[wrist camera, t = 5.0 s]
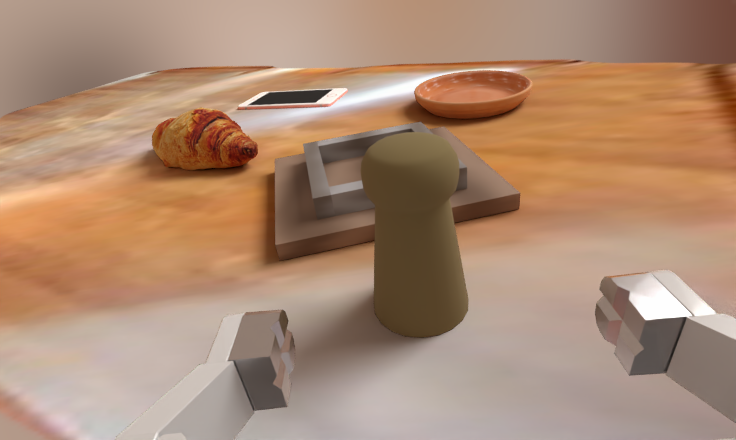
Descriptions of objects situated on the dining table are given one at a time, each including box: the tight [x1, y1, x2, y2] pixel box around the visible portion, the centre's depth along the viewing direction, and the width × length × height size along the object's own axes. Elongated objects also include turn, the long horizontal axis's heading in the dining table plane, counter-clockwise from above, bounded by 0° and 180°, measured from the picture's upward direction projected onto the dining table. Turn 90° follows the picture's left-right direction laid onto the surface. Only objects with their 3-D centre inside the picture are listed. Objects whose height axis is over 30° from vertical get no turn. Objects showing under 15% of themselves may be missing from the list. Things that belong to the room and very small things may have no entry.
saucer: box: [414, 70, 532, 119], centre depth 60 cm, size 16×16×3 cm
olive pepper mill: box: [360, 132, 468, 338], centre depth 24 cm, size 6×6×11 cm
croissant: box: [152, 107, 258, 170], centre depth 54 cm, size 21×10×8 cm, turn 56°
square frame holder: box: [275, 122, 520, 261], centre depth 41 cm, size 20×18×4 cm
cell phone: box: [238, 88, 348, 110], centre depth 75 cm, size 9×18×1 cm, turn 72°
